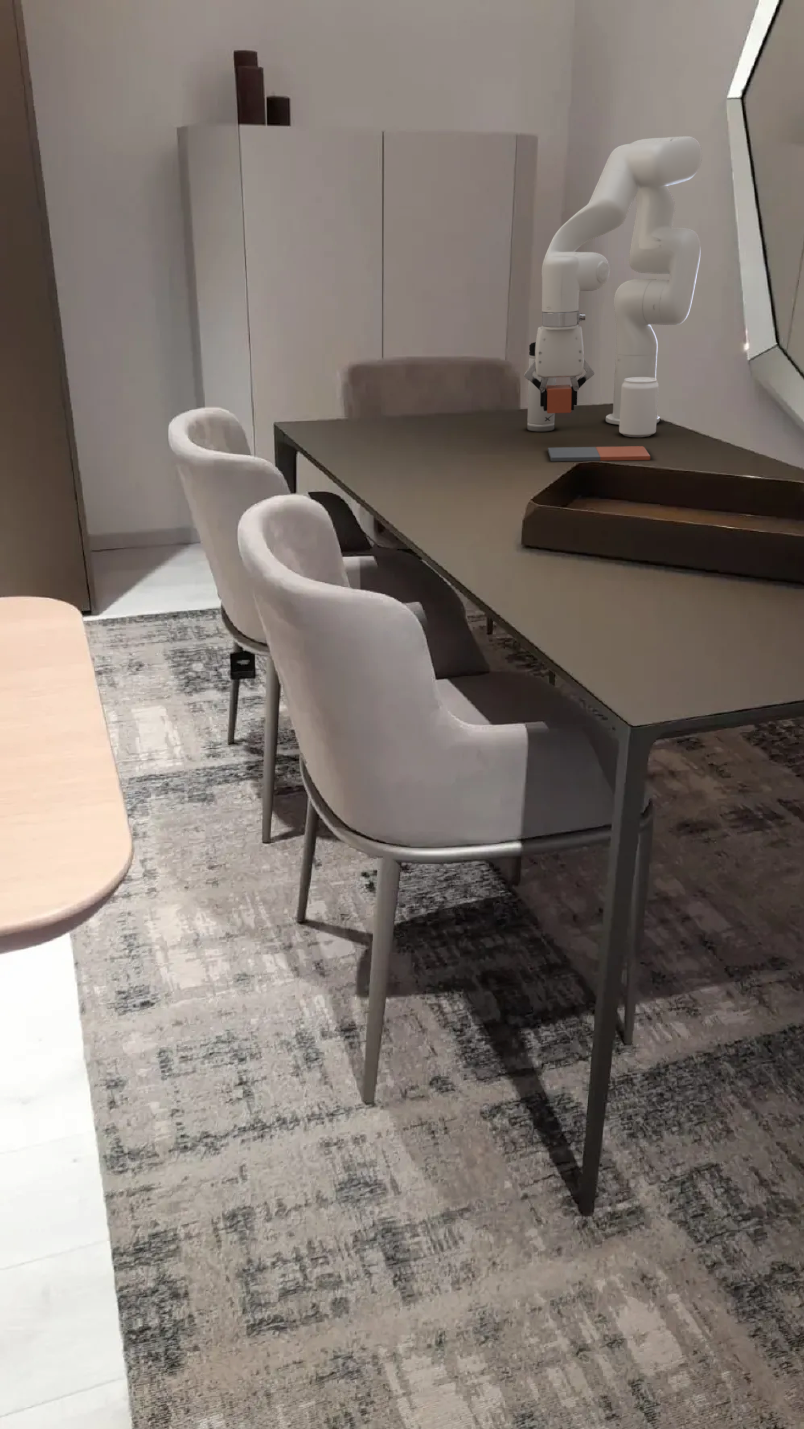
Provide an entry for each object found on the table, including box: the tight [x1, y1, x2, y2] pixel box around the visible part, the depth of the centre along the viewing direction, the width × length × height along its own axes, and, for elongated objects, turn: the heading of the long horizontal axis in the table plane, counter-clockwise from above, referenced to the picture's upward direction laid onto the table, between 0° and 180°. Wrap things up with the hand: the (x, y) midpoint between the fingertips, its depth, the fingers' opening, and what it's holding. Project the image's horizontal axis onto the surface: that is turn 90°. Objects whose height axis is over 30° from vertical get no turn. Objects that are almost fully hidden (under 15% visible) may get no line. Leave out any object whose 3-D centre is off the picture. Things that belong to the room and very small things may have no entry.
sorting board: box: [547, 445, 651, 462], centre depth 228 cm, size 10×20×1 cm, turn 87°
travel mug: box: [526, 341, 557, 433], centre depth 252 cm, size 6×7×20 cm
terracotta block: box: [546, 384, 572, 414], centre depth 235 cm, size 5×5×5 cm
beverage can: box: [618, 377, 660, 438], centre depth 245 cm, size 8×8×12 cm
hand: (558, 408), depth 236 cm, fingers closed on terracotta block, 5 cm apart
